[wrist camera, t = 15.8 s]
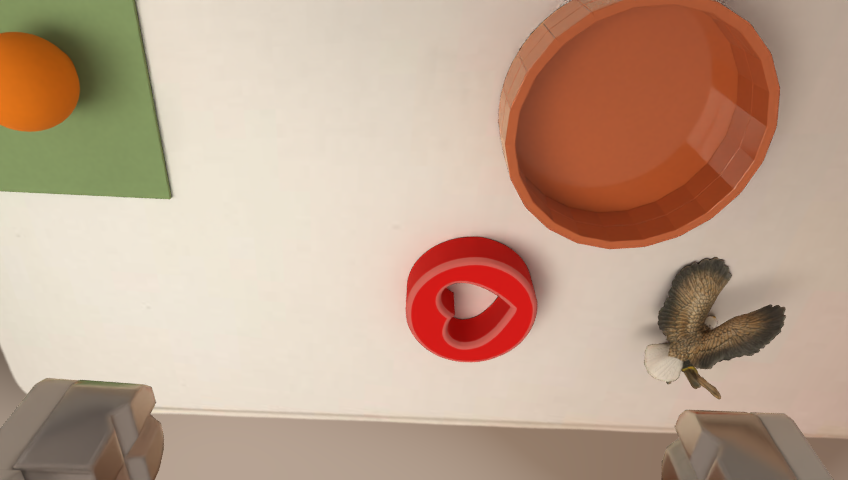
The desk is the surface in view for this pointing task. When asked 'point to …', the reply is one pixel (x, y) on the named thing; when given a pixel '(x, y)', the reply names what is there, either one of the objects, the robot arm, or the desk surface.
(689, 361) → the eagle figurine
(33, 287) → the desk surface
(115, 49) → the felt mat
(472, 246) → the decorative ornament
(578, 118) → the pot
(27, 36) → the orange
